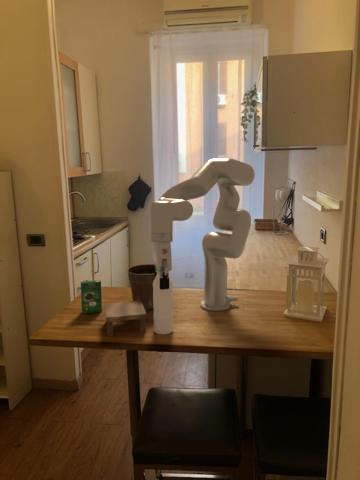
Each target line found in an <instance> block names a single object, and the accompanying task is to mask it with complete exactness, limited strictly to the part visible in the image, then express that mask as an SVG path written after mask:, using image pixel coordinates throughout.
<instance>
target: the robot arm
mask: <svg viewBox="0 0 360 480" xmlns="http://www.w3.org/2000/svg"><path fill="white" fill-rule="evenodd" d="M255 176H256V175H255V169H254V168H253V167H252V165H250V164H248V163H246V162H243V161H240V160H238V159H234V158H231V157H230V158H228V157H227V158H211V159H210V158H209V160H206V161H205V162H204V164H203V165H202V166H200V168H198V169H197V171H195V173H193V175H192V176H191V177H190V178H188V179H186V180H183V181H182V182H180V183H177V184H176V185H173V186H172V187H170V188H169V189H167V190H166V191H165V192H164V193H163V194H162V195H161V196H159V198H158V200H153V201H152V202H151V203H150V211H149V212H150V242H151V243H153V264H154V265H155V277H156V275H157V272H156V269H157V270H158V271H160V277H161V278H160V290H164V289H169V276H170V273H169V272H172V270H173V260H172V245H171V243H172V242H173V234H174V232H173V231H174V230H173V229H174V228H173V226H174V225H173V222H174V221H178V222H185V221H187V220H189V219H190V218H191V217H192V216H193V214H194V207H193V205H192V203H191V202H190V200H195V199H198V198H201V197H204V196H206V195H207V194H208V193H209V192H210V191H211V189H212V188H213V187H214V186H215V185H216V184H217V186H218V190H219V199H218V202H217V205H216V208H215V211H214V215H213V218H212V225H213V227H214V228H215V229H216V230H219V231H225V232H219V231H210V232H207V233H205V235H204V236H203V238H202V241H201V247H202V252H203V259H204V271H203V272H204V278H203V279H204V281H203V282H204V286H203V287H204V290H203V292H204V296H203V297H204V299H203V300H201V302H200V307H201V308H203V309H204V310H207V311H210V312H211V311H213V312H223V311H226V310H229V309H230V308H231V302H238V301H239V297H238V296H236V295H235V296H233V294H232V295H228V263H227V259H226V258H228V259H232V260H235V259H236V260H237V259H238V258H240V257H241V256H242V254H243V252H244V250H245V247H246V243H247V240H248V237H249V234H250V230H251V226H252V216H251V214H250V212H249V211H248V210H245V209H242V208H239V204H240V195H239V192H238V190H237V188H236V187H235V186H237V187H238V186H239V187H240V186H242V187H247V186H250V185H251V184H252V183H253V181H254V180H255ZM226 232H231V233H226ZM162 263H163V264H162ZM168 269H169V272H168ZM162 272H163V273H162Z"/></svg>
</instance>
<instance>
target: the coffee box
mask: <svg viewBox="0 0 360 480" xmlns="http://www.w3.org/2000/svg"><path fill="white" fill-rule="evenodd" d="M80 299H81V301H80V302H81V306H80V307H81V313H82V315H85V314H93V313H94V314H95V313H101V312H102V311H103V310H102V309H103V308H102V307H103V305H102V281H101V279H97V280H95V279H94V280H84V281H80Z"/></svg>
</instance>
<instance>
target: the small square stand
mask: <svg viewBox="0 0 360 480" xmlns="http://www.w3.org/2000/svg"><path fill="white" fill-rule="evenodd" d="M104 311H105V320H106V321H105V322H106V323H107V324H106V325H107V328H106V329H107V336H108V337H110V336H109V335H113V336H114V325H113V324H114V323H113V322H120V321H121V322H122V321H130V320H131V321H132V320H137V321H139V330H140V333H146V331H147V329H146V327H147V324H146V322H147V321H146V320H147V312H146V310H145V309H144V306H143V304H142V301H133V300H132V301H121V302H109V303H108V302H107V303H104Z"/></svg>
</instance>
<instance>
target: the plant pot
mask: <svg viewBox="0 0 360 480" xmlns="http://www.w3.org/2000/svg"><path fill="white" fill-rule="evenodd" d="M126 272H127V274H128V280H129V283H130V291H131V297H132V298H131V299H132V301H142V304H143V306H144V309H145V311H149V310H150V309H152V310H154V308H153V282H154V280H155V265H154V263H149V264H148V263H147V264H136V265H133V266H129V267H128V268H127V269H126Z"/></svg>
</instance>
